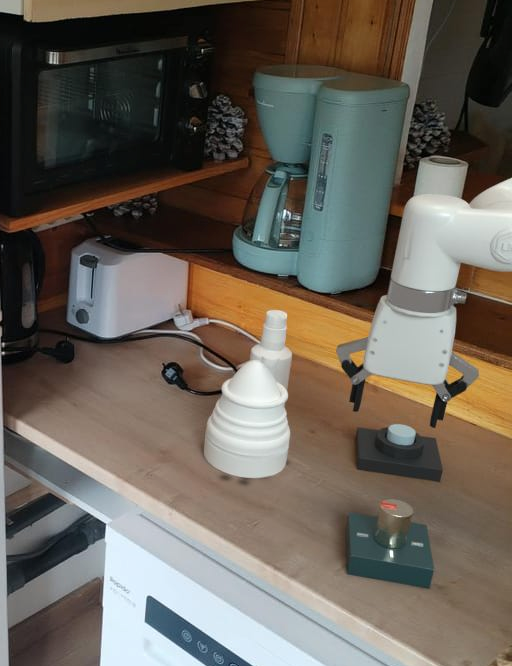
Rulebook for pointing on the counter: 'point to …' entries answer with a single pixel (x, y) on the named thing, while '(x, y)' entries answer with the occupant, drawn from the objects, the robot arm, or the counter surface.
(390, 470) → the button base
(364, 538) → the dial panel
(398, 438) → the light blue button cap
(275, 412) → the honey pot
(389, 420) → the counter surface
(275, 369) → the spray bottle
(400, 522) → the dial
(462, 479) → the counter surface
